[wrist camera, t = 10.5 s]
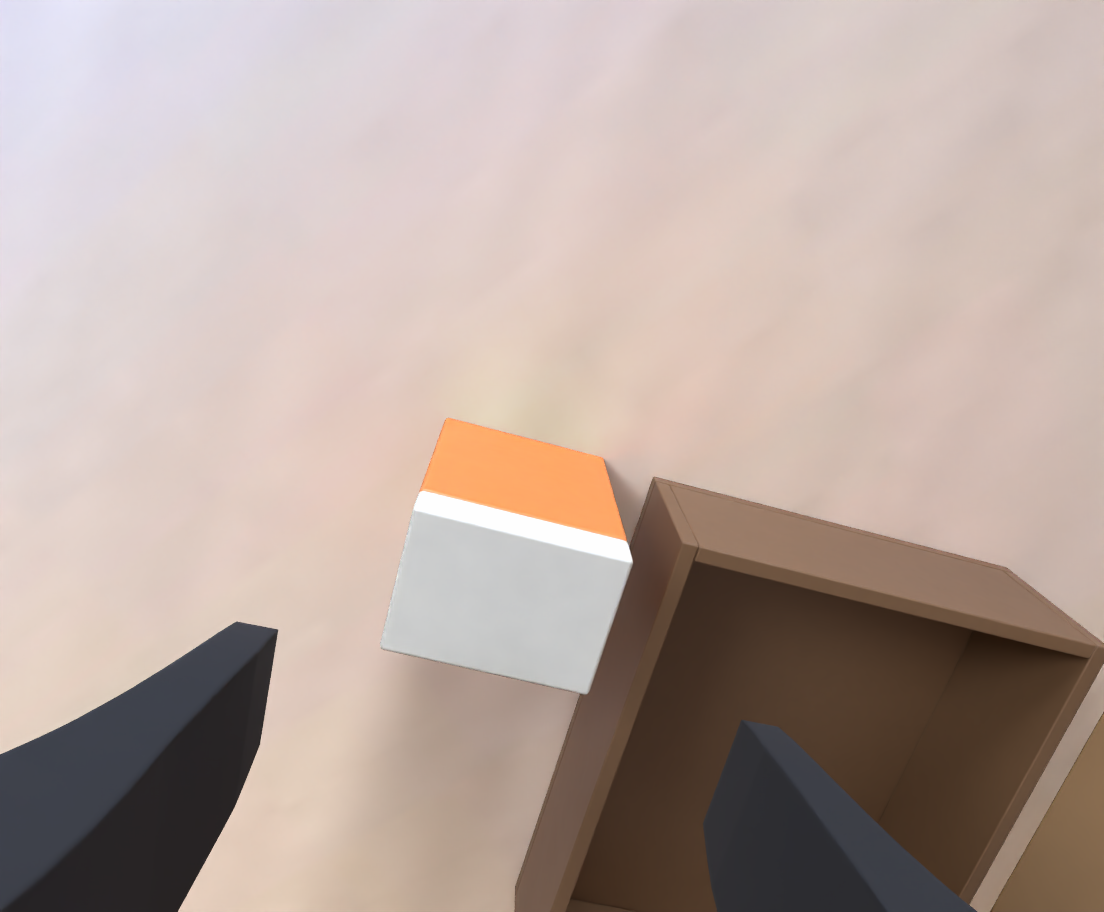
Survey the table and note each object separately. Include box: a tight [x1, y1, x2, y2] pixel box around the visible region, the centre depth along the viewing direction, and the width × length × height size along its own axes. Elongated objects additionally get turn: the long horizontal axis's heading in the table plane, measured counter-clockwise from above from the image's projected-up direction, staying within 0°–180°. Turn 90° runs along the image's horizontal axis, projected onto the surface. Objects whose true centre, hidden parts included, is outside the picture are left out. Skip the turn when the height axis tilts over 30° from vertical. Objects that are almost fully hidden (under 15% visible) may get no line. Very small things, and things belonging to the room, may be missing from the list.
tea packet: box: [380, 418, 633, 695], centre depth 19 cm, size 3×4×6 cm
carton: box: [515, 477, 1104, 912], centre depth 23 cm, size 15×11×4 cm
